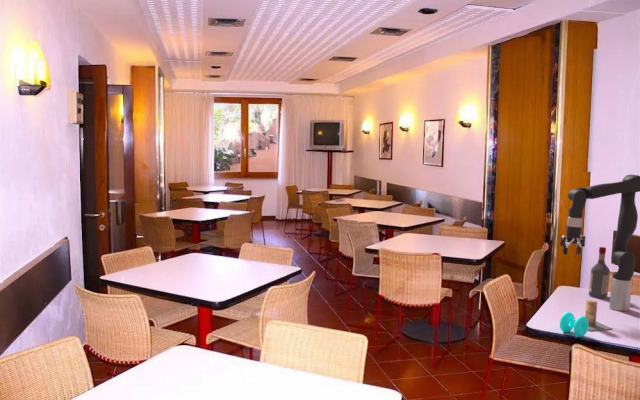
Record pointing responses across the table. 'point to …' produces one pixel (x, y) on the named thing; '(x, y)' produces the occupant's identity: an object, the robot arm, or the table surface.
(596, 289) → the liquor
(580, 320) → the turquoise spool
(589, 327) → the slate pad
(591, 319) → the oak roller
